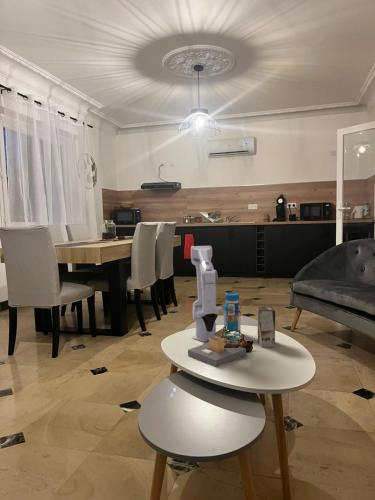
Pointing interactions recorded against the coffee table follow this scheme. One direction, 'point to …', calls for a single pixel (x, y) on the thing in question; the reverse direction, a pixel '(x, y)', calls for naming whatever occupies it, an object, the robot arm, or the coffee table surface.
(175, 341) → the coffee table surface
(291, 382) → the coffee table surface
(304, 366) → the coffee table surface
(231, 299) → the beverage bottle
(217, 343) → the plug
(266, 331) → the coffee box
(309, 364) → the coffee table surface
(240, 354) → the socket plate
